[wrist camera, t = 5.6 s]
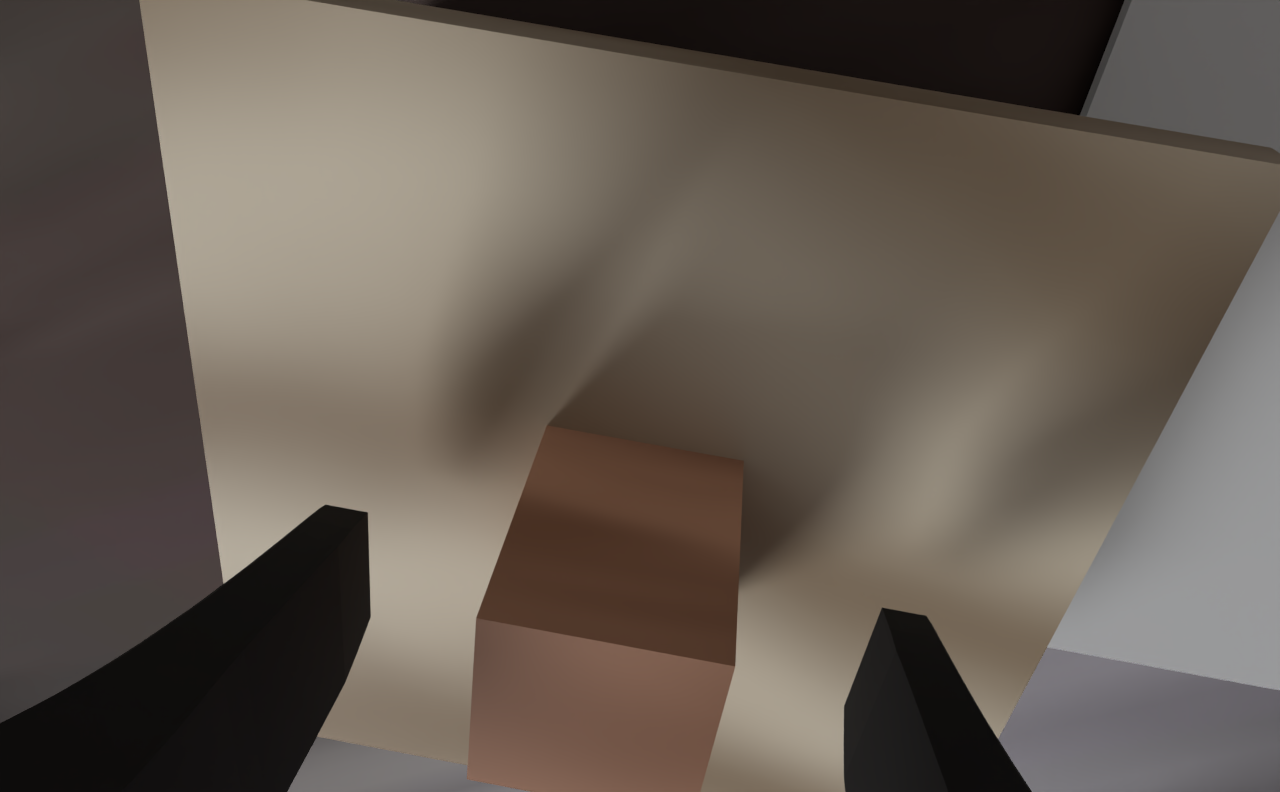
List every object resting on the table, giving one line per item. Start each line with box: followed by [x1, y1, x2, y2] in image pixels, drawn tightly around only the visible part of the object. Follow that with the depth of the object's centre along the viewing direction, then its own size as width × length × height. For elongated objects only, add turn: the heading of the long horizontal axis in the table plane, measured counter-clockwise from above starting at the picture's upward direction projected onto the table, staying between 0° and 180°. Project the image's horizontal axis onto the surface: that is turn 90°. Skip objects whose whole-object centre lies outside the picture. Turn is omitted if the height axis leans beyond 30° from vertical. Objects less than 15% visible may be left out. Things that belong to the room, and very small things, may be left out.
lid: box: [139, 0, 1280, 792], centre depth 13 cm, size 14×14×5 cm
